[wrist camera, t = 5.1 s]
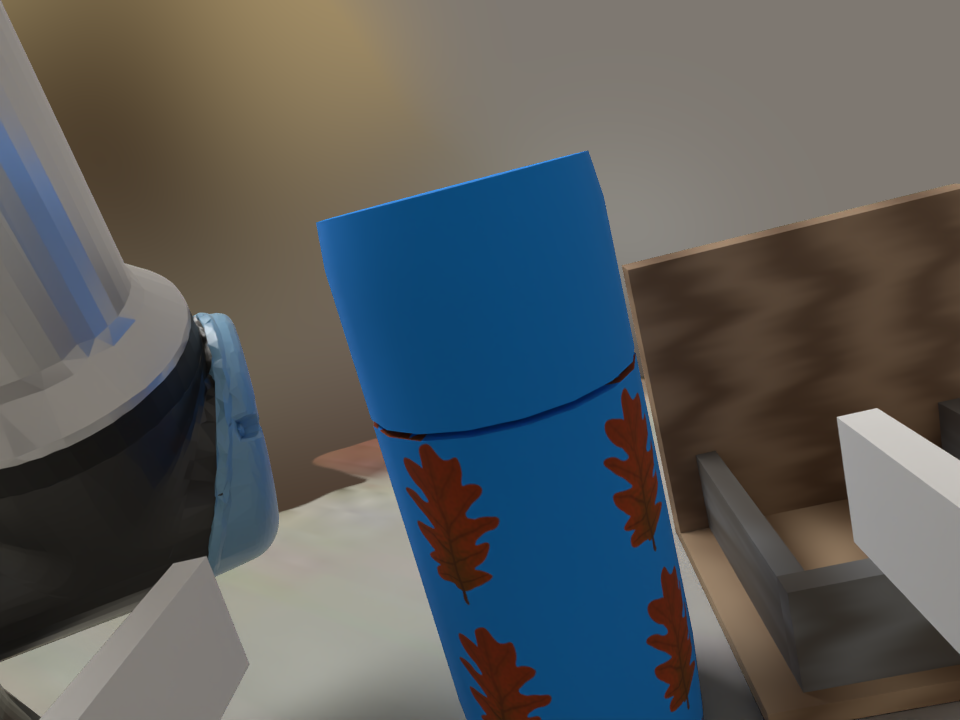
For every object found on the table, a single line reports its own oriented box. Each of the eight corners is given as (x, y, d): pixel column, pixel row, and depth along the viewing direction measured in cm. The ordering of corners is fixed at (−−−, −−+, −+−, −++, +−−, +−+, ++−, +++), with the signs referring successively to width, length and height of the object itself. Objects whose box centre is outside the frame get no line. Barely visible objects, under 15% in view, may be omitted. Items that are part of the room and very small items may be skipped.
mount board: (770, 733, 29) (698, 330, 25) (675, 531, 46) (621, 265, 41) (1255, 648, 28) (1272, 195, 23) (976, 469, 44) (953, 183, 39)
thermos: (658, 869, 25) (491, 178, 19) (432, 780, 32) (250, 239, 25) (736, 664, 34) (637, 137, 27) (545, 626, 40) (429, 191, 34)
